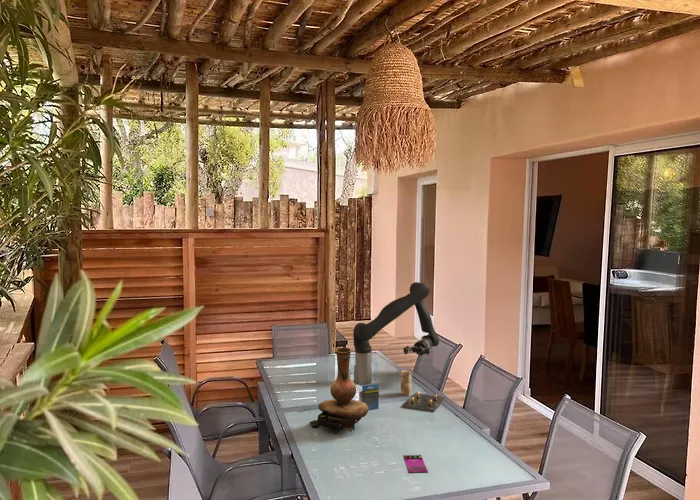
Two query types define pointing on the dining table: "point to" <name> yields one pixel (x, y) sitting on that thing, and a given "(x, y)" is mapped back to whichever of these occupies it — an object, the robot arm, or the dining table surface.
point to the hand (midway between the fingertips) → (412, 353)
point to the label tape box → (370, 396)
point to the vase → (341, 400)
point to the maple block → (406, 382)
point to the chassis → (423, 402)
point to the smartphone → (415, 464)
